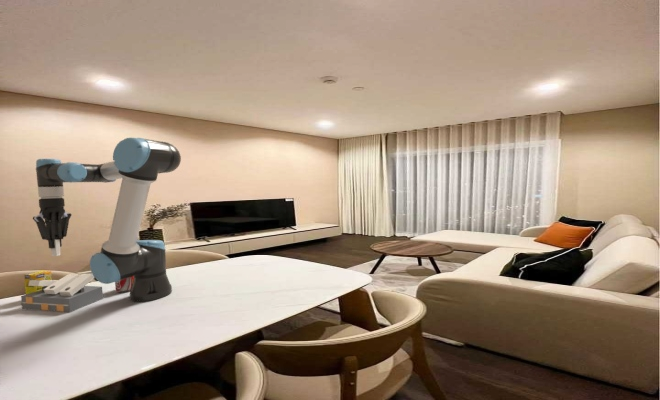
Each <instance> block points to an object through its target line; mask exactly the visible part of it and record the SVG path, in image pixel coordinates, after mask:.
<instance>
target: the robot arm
mask: <svg viewBox="0 0 660 400" xmlns="http://www.w3.org/2000/svg"><path fill="white" fill-rule="evenodd" d="M112 154H113V155H112V160H113V161H108V162H103V163H101V164H100V163H99V164H89V163H78V162H70V161H68V162H64V163H63V162H62V161H61V160H60V159H58V158H39V159H37V160H36V162H35V163H36V165H35V171H36V182H37V194H38V198H39V199H38V207H39V209H40V210H39V212H38V213H39V214H37V215H35V216H32V220H33V221H34V222H35V223H36V226H37V228H38V231H39V235H40V237H41V239H42V241H43V240H44V241H47V242H48V249H50V253H51V254H50V256H51V257H60V256H61V255H62V254H61V247H62V245H63V244H62V240H64V238H66V237H67V235H68V228H69V225H70V224H69V222H70V219H71V217H72V213H70V212H67V211H66V210H65V206H66V205H65V198H64V196H65V193H64V192H65V191H64V183H114V182H115V181H117V180H120V179H121V183H120V187H119V193H118V195H117V196H118V197H117V201H116V204H115V209H114V210H115V211H114V215H113V219H112V223H111V227H110V233H109V237H108V240H106V241H104V242H103V243H101V248H100V252H95V254H93V255H92V256H91V257H90V260H89V268H90V272H91V274H93V276H94V279H96V280H97V281H98V282H99V283H101V284H105V285H107V284H113V283H115V282H118V281H120V280H123V279H126V278H129V277H132V276H134V281H133V284H132V288H131V291H129V299H130V301H133V302H147V301H148V302H149V301H153V300H157V299H162V298H164V297H167V296H169V295H170V294H171V293H172V292H173V288H172V283H170V280H169V278H168V275H167V261H166V247H165V242H164V241H163V240H160V239H159V240H158V239H143V240H142V239H141V240H138V236H139V233H140V229H141V225H142V220H143V216H144V213H145V208H146V204H147V200H148V195H149V191H150V188H151V184H153V183H155V182H157V179H158V175H159V174H165V173H166V174H167V173H172V172H174V171H176V169H178V167H179V166H180V164H181V160H182V156H181V154H180V151H179V150H178V148H177V147H176V146H174V145H173V144H171V143H170V142H166V141H159V140H155V139H154V140H153V139H147V138H142V137H126V138H124V139H122V140H120V141H119V142H118V143H117V144H116V146H115V148H114V150H113V153H112Z"/></svg>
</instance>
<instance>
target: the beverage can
mask: <svg viewBox="0 0 660 400" xmlns="http://www.w3.org/2000/svg"><path fill="white" fill-rule="evenodd" d="M133 281H134V276H132V277H129V278H126V279H123V280H120V281H118V282H114V285H115V287H114V288H115V291H116V292H118V293H122V294H123V293H130V291H131V288H132V284H133Z"/></svg>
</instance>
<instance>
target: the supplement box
mask: <svg viewBox="0 0 660 400" xmlns="http://www.w3.org/2000/svg"><path fill="white" fill-rule="evenodd" d="M23 276H24V288H25V295H26V294H29V293H33V292H36V291H39V290H42V287H44V286H28V285H29V281H30V280H53V279H52V271H49V270H39V271H36V272H31V273H25V274H24V275H23Z"/></svg>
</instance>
